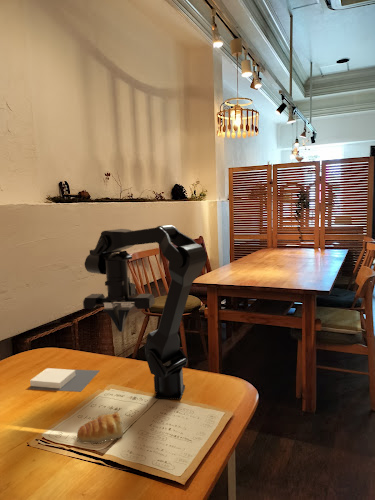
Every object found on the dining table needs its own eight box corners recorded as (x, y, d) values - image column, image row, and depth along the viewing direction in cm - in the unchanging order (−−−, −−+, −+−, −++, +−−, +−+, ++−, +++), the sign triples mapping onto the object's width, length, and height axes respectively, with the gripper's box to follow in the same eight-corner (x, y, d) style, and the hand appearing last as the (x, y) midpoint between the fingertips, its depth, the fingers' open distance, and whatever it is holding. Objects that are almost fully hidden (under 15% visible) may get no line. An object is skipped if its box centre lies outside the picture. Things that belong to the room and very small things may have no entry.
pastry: (78, 451, 73) (77, 433, 73) (76, 432, 80) (74, 415, 79) (125, 438, 76) (124, 421, 76) (119, 421, 83) (118, 405, 82)
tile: (75, 370, 104) (47, 368, 106) (59, 382, 97) (30, 380, 99) (75, 375, 104) (47, 373, 107) (60, 388, 97) (30, 386, 99)
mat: (100, 372, 107) (99, 370, 107) (81, 393, 95) (80, 391, 95) (52, 370, 110) (52, 368, 110) (28, 391, 98) (28, 389, 98)
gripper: (158, 269, 107) (161, 322, 109) (97, 270, 110) (101, 321, 112) (147, 277, 96) (150, 336, 98) (79, 278, 99) (84, 334, 101)
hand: (121, 331), depth 102 cm, fingers closed
